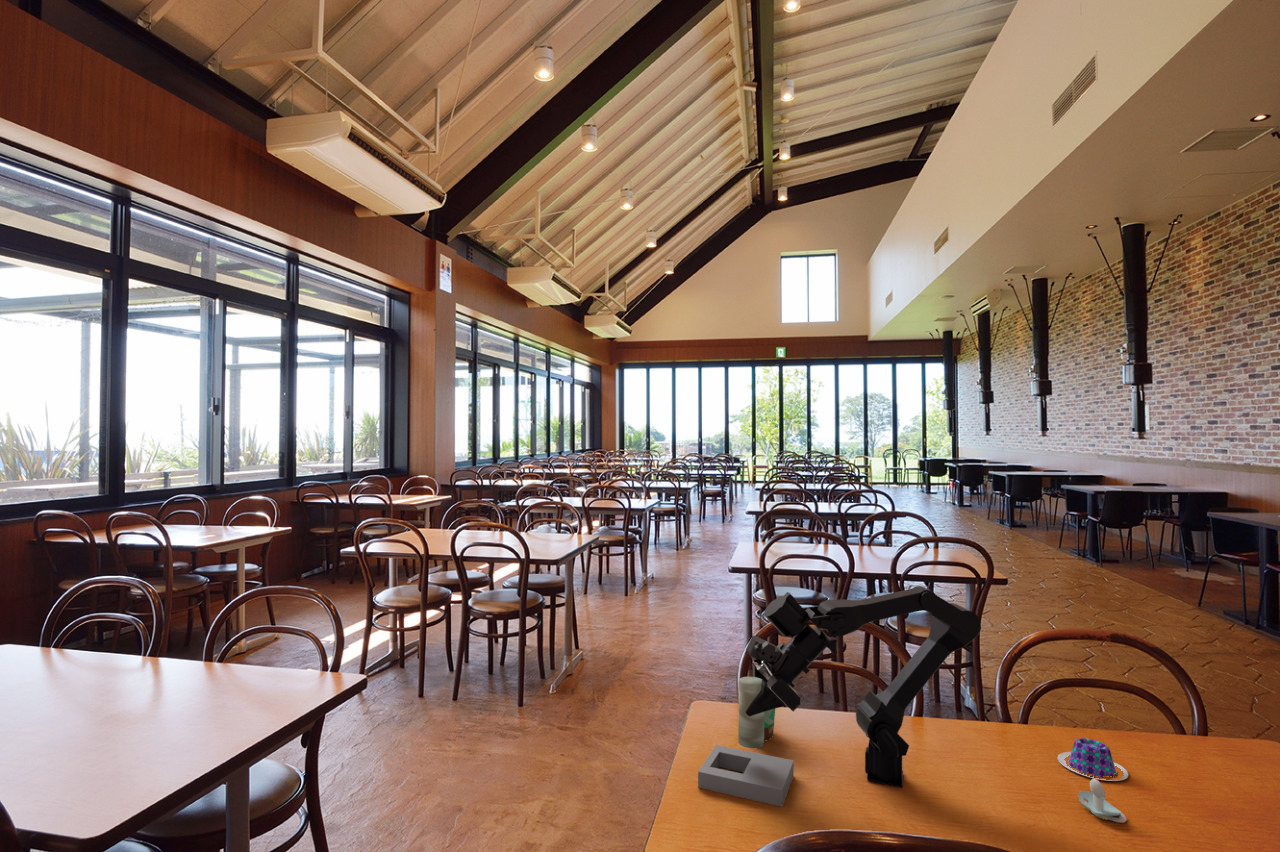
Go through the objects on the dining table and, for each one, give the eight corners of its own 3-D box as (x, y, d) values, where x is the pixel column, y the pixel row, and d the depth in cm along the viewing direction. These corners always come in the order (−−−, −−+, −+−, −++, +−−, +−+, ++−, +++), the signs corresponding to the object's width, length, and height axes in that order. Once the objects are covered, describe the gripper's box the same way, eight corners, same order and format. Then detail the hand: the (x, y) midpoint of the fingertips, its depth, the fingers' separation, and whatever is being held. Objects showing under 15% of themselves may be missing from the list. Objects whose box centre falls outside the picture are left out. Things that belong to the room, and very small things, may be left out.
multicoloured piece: (1129, 767, 134) (1129, 742, 135) (1127, 791, 125) (1127, 764, 125) (1060, 749, 142) (1060, 725, 142) (1054, 771, 133) (1054, 745, 133)
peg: (766, 739, 129) (766, 678, 129) (760, 750, 125) (761, 687, 125) (741, 734, 131) (742, 675, 131) (735, 745, 127) (735, 683, 127)
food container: (778, 748, 140) (779, 701, 141) (750, 745, 142) (750, 699, 142) (778, 724, 152) (778, 681, 153) (751, 721, 154) (752, 679, 154)
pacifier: (1104, 804, 120) (1073, 803, 120) (1105, 770, 121) (1074, 769, 120) (1136, 827, 113) (1102, 826, 113) (1137, 791, 113) (1103, 790, 113)
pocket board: (793, 775, 129) (793, 760, 129) (782, 806, 118) (782, 790, 118) (715, 759, 135) (715, 744, 135) (698, 787, 124) (698, 771, 124)
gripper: (761, 611, 138) (709, 663, 137) (783, 637, 119) (723, 698, 119) (797, 648, 138) (745, 700, 137) (825, 680, 119) (765, 741, 119)
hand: (744, 708), depth 128 cm, fingers closed on peg, 5 cm apart
